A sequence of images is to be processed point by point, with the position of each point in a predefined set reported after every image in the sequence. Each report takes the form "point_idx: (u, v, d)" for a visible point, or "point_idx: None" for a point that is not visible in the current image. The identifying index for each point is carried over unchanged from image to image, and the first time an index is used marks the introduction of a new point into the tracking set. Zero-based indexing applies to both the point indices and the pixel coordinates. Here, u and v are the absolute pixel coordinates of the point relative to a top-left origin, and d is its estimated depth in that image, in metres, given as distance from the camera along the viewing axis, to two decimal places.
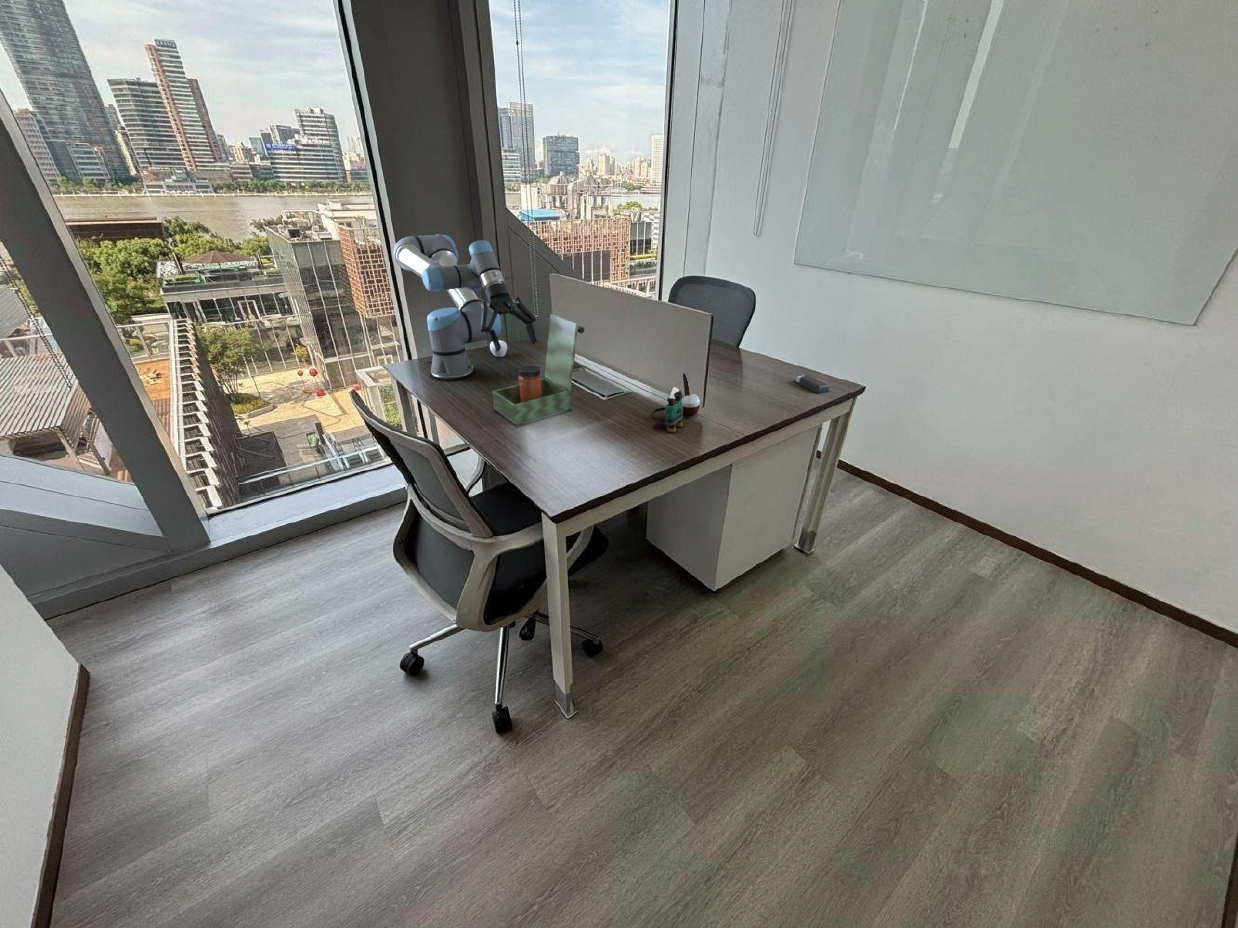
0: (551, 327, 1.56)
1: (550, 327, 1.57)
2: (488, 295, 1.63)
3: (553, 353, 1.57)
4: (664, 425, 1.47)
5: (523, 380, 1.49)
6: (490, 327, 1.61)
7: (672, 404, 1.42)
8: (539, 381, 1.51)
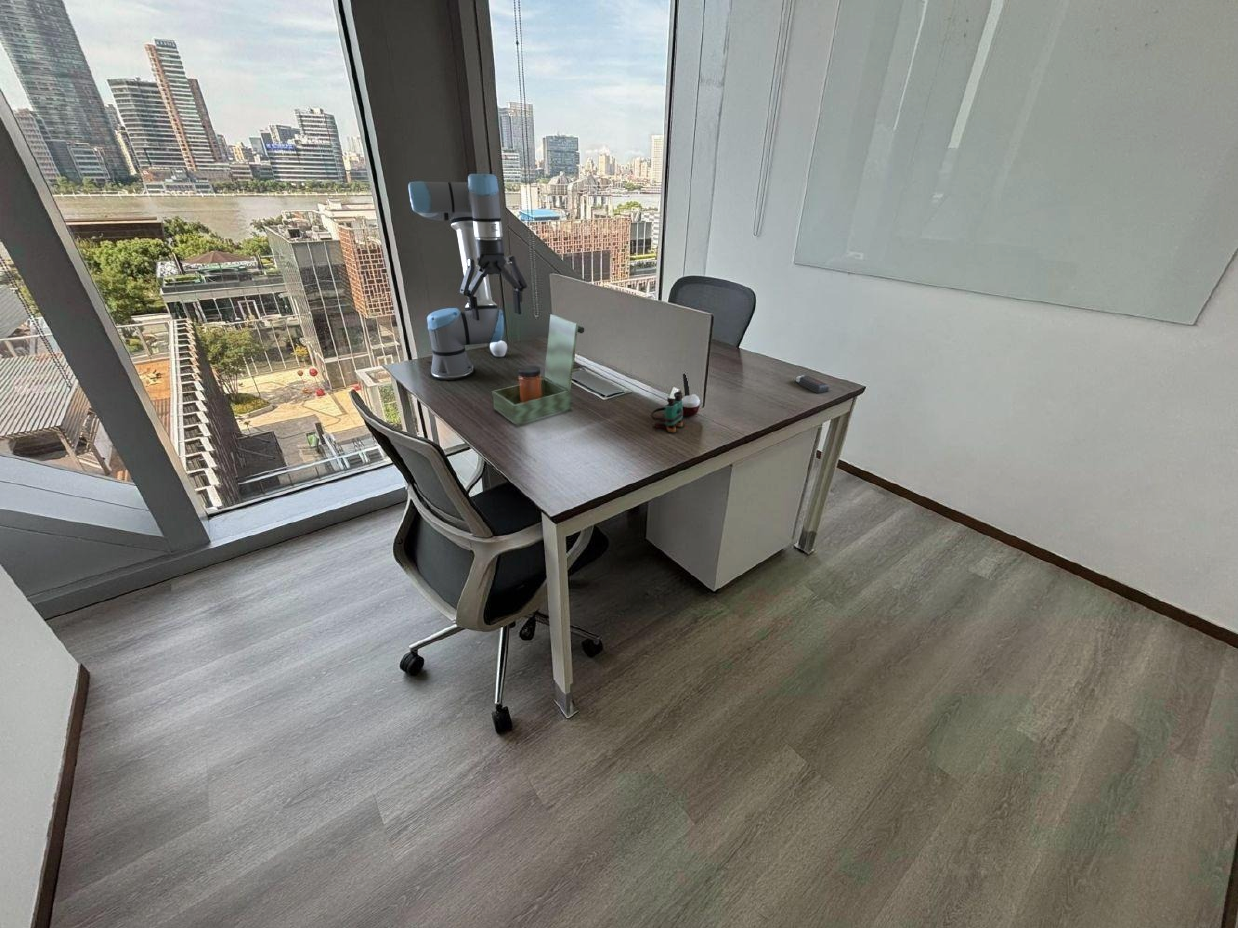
0: (551, 327, 1.56)
1: (550, 327, 1.57)
2: (479, 250, 1.34)
3: (553, 353, 1.57)
4: (664, 425, 1.47)
5: (523, 380, 1.49)
6: (472, 294, 1.37)
7: (672, 404, 1.42)
8: (539, 381, 1.51)
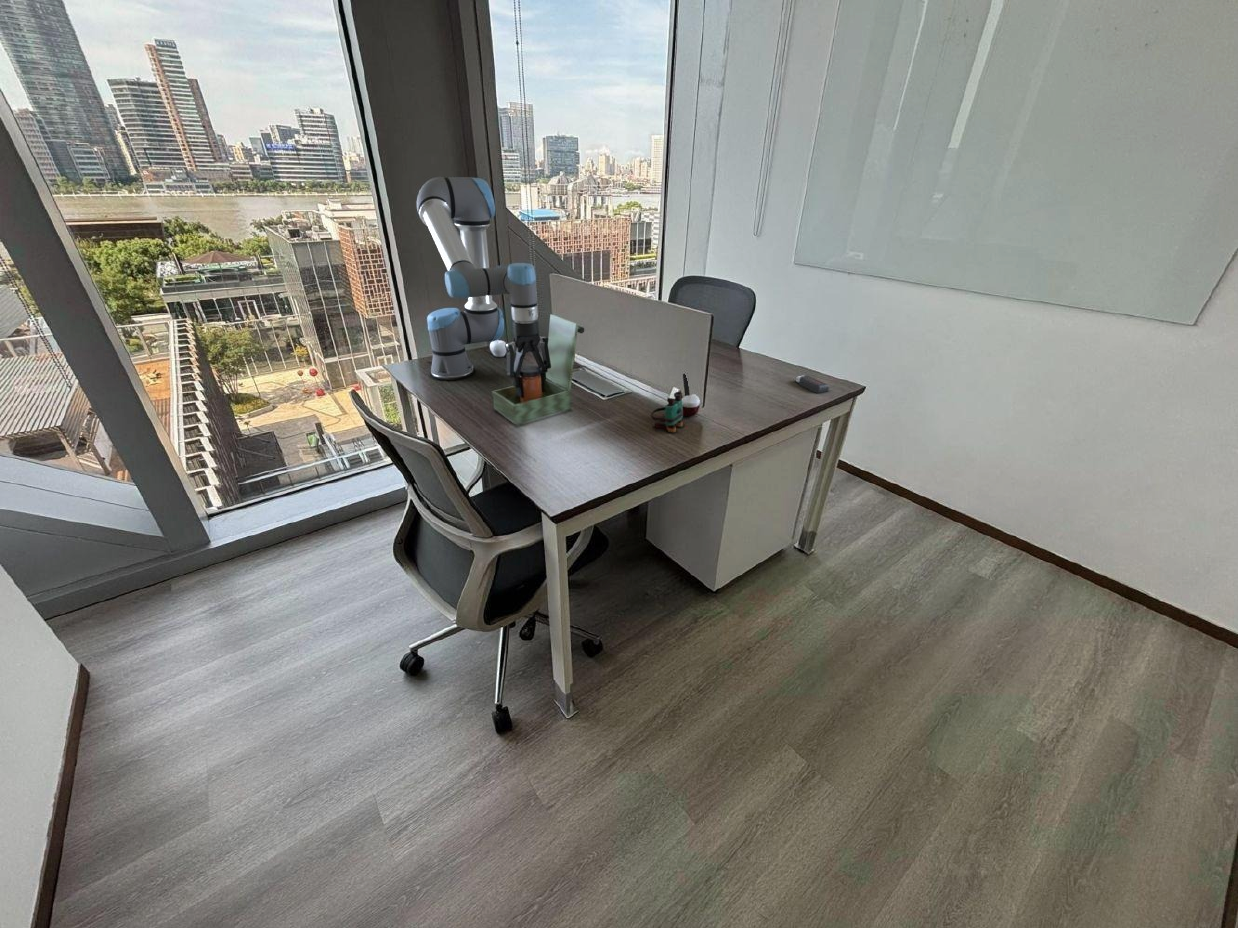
0: (551, 327, 1.56)
1: (550, 327, 1.57)
2: (516, 332, 1.42)
3: (553, 353, 1.57)
4: (664, 425, 1.47)
5: (523, 380, 1.49)
6: (518, 375, 1.47)
7: (672, 404, 1.42)
8: (539, 380, 1.51)
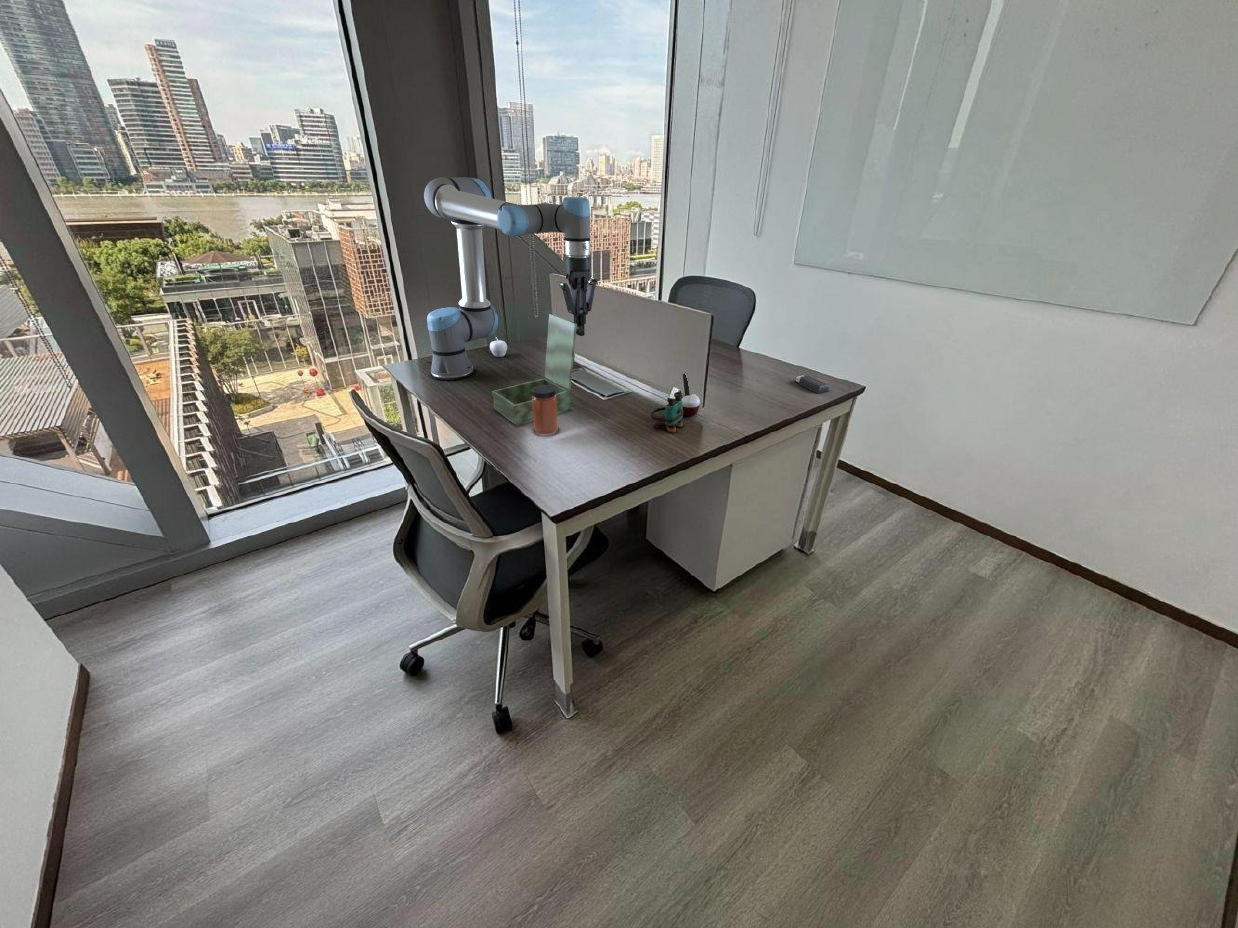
0: (550, 327, 1.56)
1: (549, 327, 1.56)
2: (569, 267, 1.44)
3: (552, 353, 1.57)
4: (664, 425, 1.47)
5: (537, 401, 1.37)
6: (578, 312, 1.52)
7: (672, 404, 1.42)
8: (554, 401, 1.39)
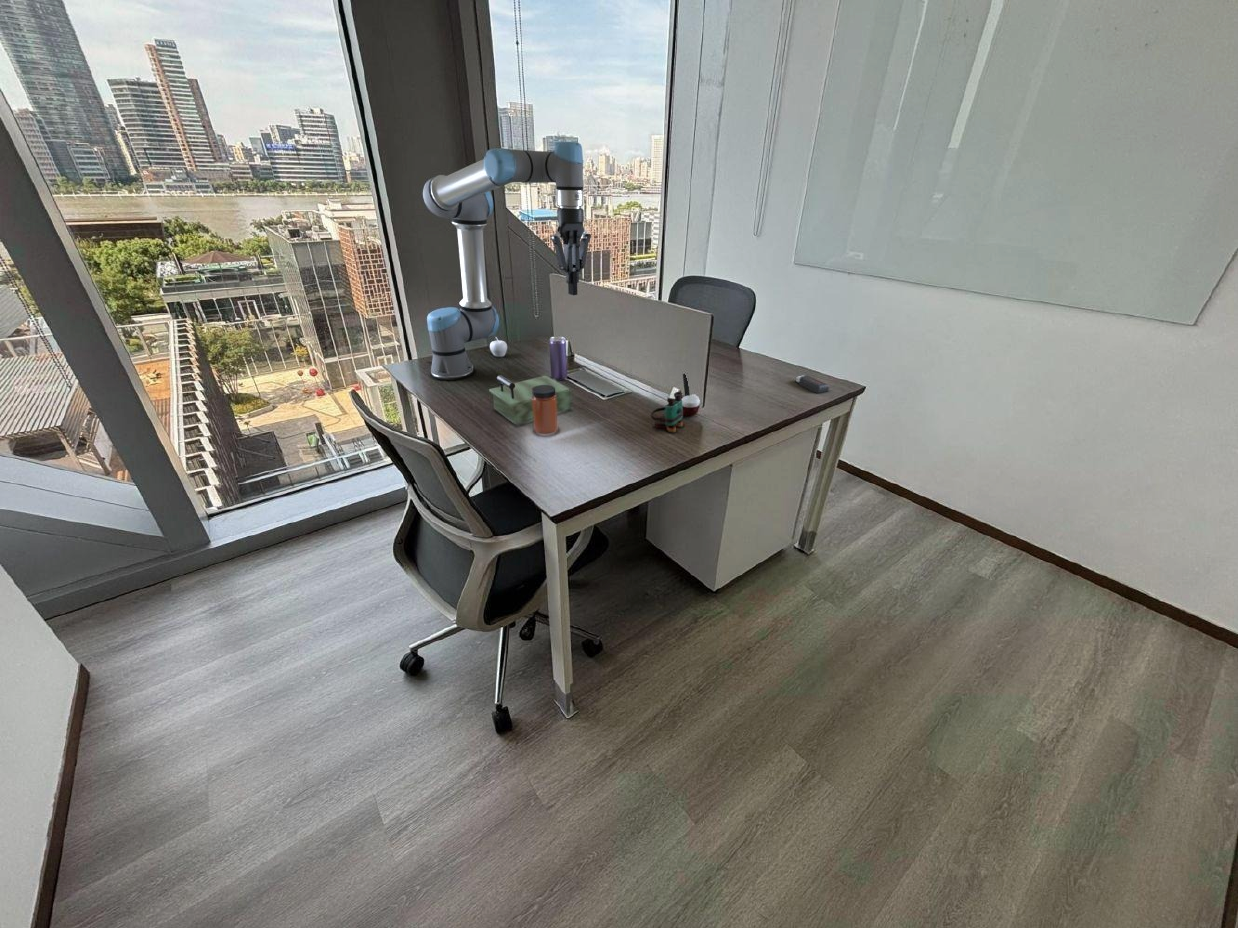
0: None
1: None
2: (561, 219, 1.36)
3: None
4: (664, 425, 1.47)
5: (537, 401, 1.37)
6: (571, 268, 1.44)
7: (672, 404, 1.42)
8: (554, 401, 1.39)
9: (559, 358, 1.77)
